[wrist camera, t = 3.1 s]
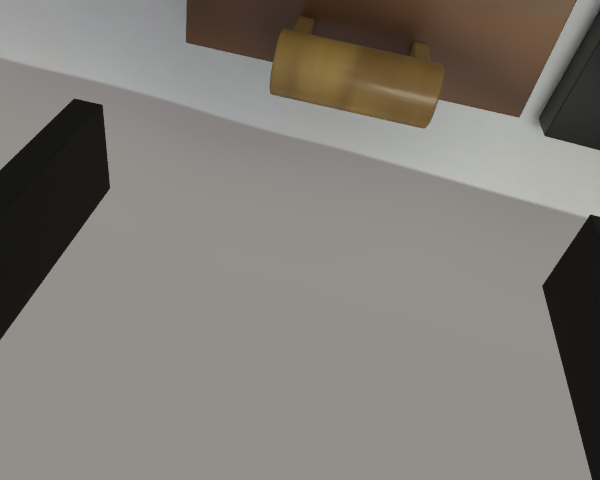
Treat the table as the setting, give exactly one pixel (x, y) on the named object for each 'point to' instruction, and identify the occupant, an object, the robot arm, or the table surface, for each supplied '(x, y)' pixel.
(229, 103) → the table surface
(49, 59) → the table surface
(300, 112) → the table surface
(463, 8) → the dark wooden panel
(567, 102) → the box
